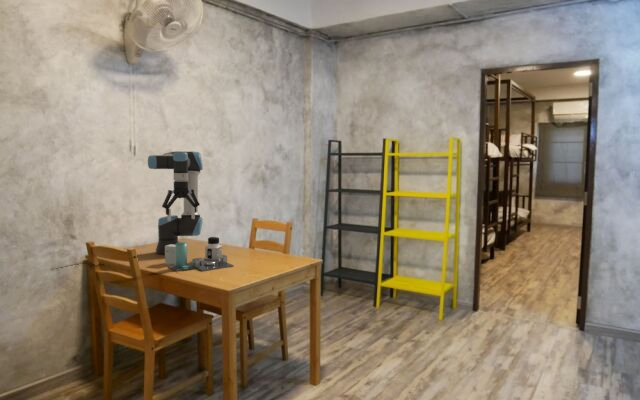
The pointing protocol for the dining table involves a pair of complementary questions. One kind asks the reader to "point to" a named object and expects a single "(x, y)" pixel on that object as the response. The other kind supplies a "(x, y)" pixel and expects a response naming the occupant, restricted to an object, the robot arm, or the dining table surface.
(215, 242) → the container
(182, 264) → the teal tall rounded piece
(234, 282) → the dining table surface
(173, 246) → the small box
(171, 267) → the mat
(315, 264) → the dining table surface
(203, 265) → the bayonet base
